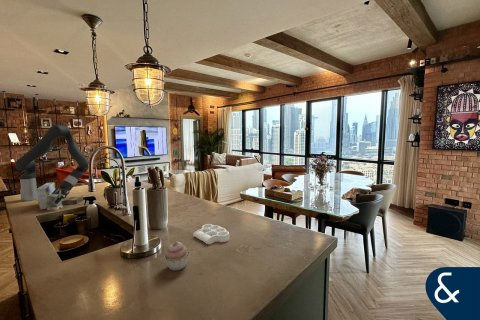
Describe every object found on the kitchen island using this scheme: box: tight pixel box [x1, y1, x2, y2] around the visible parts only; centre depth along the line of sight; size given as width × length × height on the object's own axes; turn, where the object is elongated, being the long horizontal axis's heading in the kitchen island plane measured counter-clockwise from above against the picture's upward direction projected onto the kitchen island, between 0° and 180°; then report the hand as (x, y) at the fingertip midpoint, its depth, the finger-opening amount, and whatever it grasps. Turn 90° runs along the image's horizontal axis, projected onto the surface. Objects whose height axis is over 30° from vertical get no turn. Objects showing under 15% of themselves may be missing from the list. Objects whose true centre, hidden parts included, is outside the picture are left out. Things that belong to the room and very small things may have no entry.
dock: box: [61, 196, 84, 206], centre depth 178 cm, size 14×10×3 cm
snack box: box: [36, 182, 56, 211], centre depth 171 cm, size 21×6×15 cm, turn 25°
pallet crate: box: [46, 194, 64, 211], centre depth 162 cm, size 6×6×10 cm
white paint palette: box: [192, 223, 230, 245], centre depth 114 cm, size 3×18×15 cm
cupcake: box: [163, 241, 190, 272], centre depth 88 cm, size 9×9×10 cm
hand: (52, 202), depth 161 cm, fingers closed on pallet crate, 8 cm apart
